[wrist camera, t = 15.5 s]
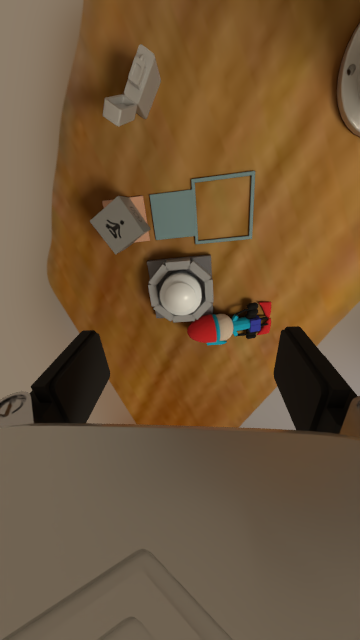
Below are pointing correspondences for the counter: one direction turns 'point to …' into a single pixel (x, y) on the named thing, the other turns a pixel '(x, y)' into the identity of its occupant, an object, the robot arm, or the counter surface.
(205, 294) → the dome base
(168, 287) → the dome
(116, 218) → the dice cube
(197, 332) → the toy figure
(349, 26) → the counter surface
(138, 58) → the lighter
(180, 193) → the sorting mat
